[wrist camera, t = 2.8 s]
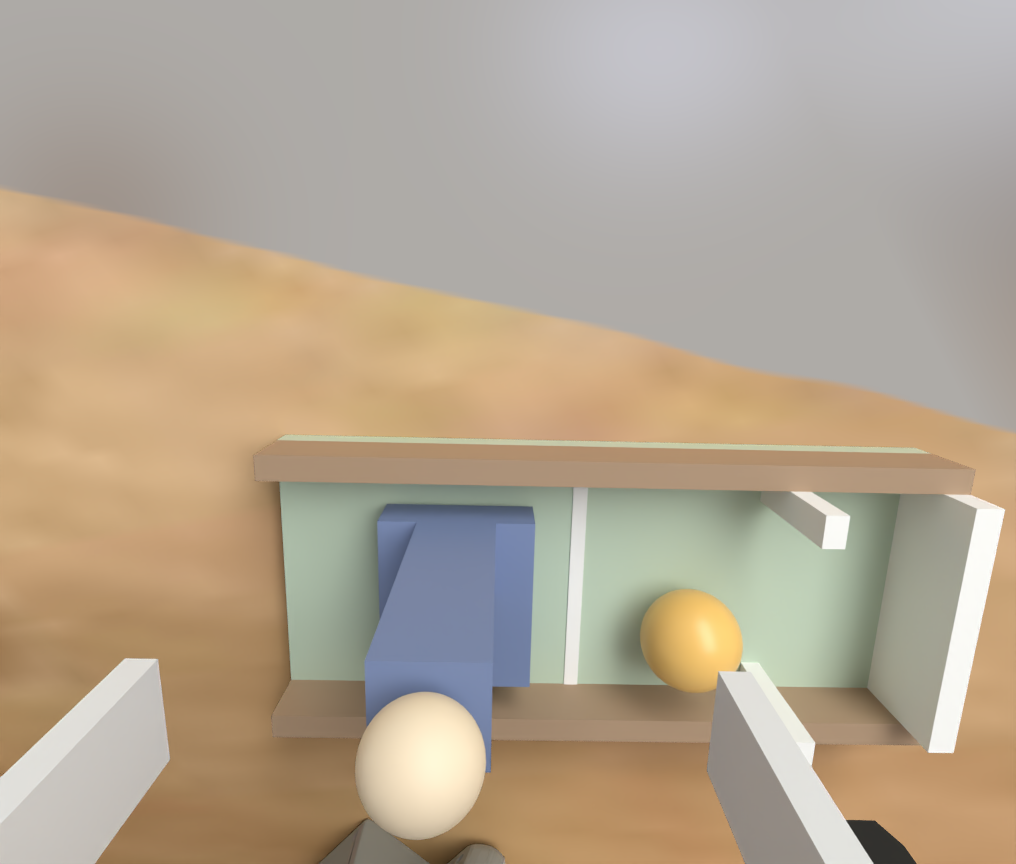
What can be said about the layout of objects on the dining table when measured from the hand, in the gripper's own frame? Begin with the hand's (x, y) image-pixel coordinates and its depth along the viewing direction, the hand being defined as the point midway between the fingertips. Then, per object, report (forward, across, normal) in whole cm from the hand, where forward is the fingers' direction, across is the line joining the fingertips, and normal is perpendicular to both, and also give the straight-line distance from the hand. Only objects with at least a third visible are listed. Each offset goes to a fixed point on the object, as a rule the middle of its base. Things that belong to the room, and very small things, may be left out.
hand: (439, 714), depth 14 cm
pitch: (+13, +6, -2) cm, 14 cm away
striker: (+11, 0, -2) cm, 11 cm away
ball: (+10, +9, -4) cm, 14 cm away
